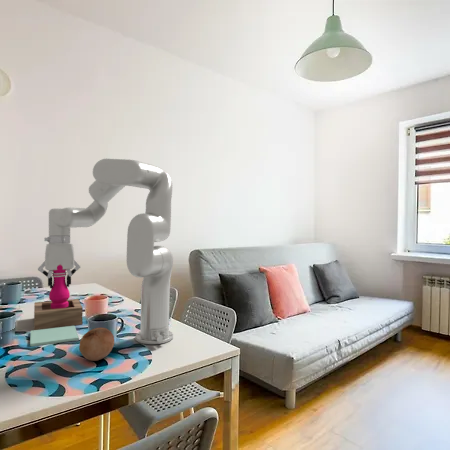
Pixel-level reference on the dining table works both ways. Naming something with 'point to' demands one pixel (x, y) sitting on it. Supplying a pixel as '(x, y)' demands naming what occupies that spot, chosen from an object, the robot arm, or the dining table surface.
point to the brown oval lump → (96, 344)
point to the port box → (57, 315)
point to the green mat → (53, 335)
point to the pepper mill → (59, 289)
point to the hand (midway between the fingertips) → (59, 286)
